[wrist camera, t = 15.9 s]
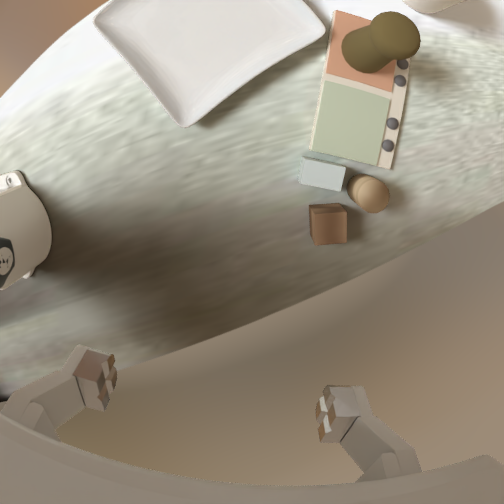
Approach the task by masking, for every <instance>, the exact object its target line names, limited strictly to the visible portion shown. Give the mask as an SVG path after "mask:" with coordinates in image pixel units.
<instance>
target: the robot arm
mask: <svg viewBox="0 0 504 504" xmlns="http://www.w3.org/2000/svg"><path fill="white" fill-rule="evenodd" d="M11 179H12V181H11ZM51 239H52V235H51V226H50V222H49V218H48V215H47V213H46V210H45V208H44V206H43V204H42V203H41V201H40V200H39V198H38V197H37V196H36V195H35V194H34V193H33V192H32V191H31V190H30V189H29V187H28V186H27V184H26V182H25V180H24V178H23V176H22V174H21V173H20V172H19V171H12V172H8V173H4V174H1V175H0V289H1V290H4V289H6V288H7V287H9V286H10V285H11V284H13V283H14V282H16V281H17V280H18V279H20V278H21V277H23V278H28V277H30V276H31V275H32V273H33V271H34V269H35V267H36V266H37V265H38V264H40V263H41V262H43V261H44V260H45V258H46V257H47V255H48V253H49V251H50V247H51ZM114 362H115V358H114V355H113V354H110V353H106V352H103V351H100V350H96V349H93V348H89V347H86V346H82V345H77V346H76V347H75V349H74V350H73V352H72V353H71V355H70V356H69V358H68V360H67V361H66V363H65V364H64V366H63V368H62V369H61V371H55V372H53V373H51V374H49V375H47V376H45V377H43V378H41V379H39V380H37V381H35V382H32V383H30V384H28V385H26V386H24V387H22V388H20V389H18V390H16V391H14V392H13V393H12V395H11V396H10V398H9V399H8V401H7V403H6V404H5V406H4V407H3V409H2V411H1V412H0V504H504V465H503V464H502V463H500V462H499V461H497V460H496V459H495V458H493V457H491V456H489V455H482V456H478V457H475V458H472V459H469V460H465V461H462V462H459V463H455V464H452V465H448V466H444V467H441V468H437V469H433V470H428V471H424V472H422V470H421V467H420V464H419V461H418V458H417V455H416V452H415V449H414V448H413V447H412V446H410V445H409V444H408V443H407V442H406V441H405V440H404V439H402V438H401V437H400V436H399V435H398V434H397V433H395V432H394V431H393V430H392V429H391V428H390V427H388V426H387V425H386V424H385V423H384V422H383V421H382V420H380V419H379V418H378V417H377V416H373V413H372V410H371V407H370V404H369V401H368V398H367V395H366V392H365V389H364V387H363V386H340V385H338V386H336V385H327V386H326V387H325V388H324V390H323V395H324V396H322V397H321V398H319V401H318V403H317V406H316V420H317V421H318V422H319V423H320V424H321V425H320V426H319V428H318V432H319V439H320V442H329V443H333V442H336V443H340V444H341V446H342V447H343V448H344V449H345V450H346V452H347V453H348V454H349V455H350V456H351V458H352V459H353V460H354V461H355V463H356V464H357V465H358V466H359V467H360V469H361V470H362V471H363V472H364V474H363V475H362V476H361V477H360V478H359V479H358V480H357V481H356V482H355V483H346V484H333V485H316V486H315V485H314V486H271V485H269V486H268V485H251V484H237V483H228V482H218V481H210V480H203V479H196V478H189V477H184V476H178V475H173V474H168V473H163V472H158V471H153V470H149V469H145V468H141V467H137V466H133V465H129V464H125V463H122V462H118V461H115V460H111V459H108V458H104V457H102V456H98V455H95V454H93V453H89V452H87V451H84V450H80V449H78V448H75V447H73V446H70V445H67V444H65V443H62V442H61V440H60V438H59V436H58V434H57V433H56V431H55V429H57V428H58V427H59V426H61V425H62V424H63V423H65V422H66V421H68V420H69V419H70V418H72V417H73V416H75V415H76V414H77V413H79V412H80V411H81V410H83V409H84V408H85V407H89V408H92V409H96V410H100V411H103V412H105V410H106V407H107V405H108V403H109V400H110V399H109V393H111V392H113V391H114V388H115V386H116V381H117V370H116V368H115V367H114V366H113V364H114Z"/></svg>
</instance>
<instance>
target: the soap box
mask: <svg viewBox="0 0 504 504" xmlns="http://www.w3.org/2000/svg"><path fill="white" fill-rule="evenodd" d="M345 170H346V168H345V167H344V166H342V165H340V164H337V163H333V162H328V161H323V160H319V159H314V158H309V157H304V156H302V158H301V163H300V169H299V174H298V181H299V182H300V184H304V185H309V186H315V187H320V188H325V189H330V190H335V191H340V192H341V187H342V183H343V179H344V174H345Z"/></svg>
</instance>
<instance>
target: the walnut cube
mask: <svg viewBox="0 0 504 504" xmlns="http://www.w3.org/2000/svg"><path fill="white" fill-rule="evenodd" d="M309 216H310V235H311V237H312V239H313V241H314V244H315V245H326V244H337V243H347V212H346V210H345V209H344V208H343V207H342V206H341V205H340V204H339V203H331V204H317V205H309Z"/></svg>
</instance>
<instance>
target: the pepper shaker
mask: <svg viewBox="0 0 504 504" xmlns="http://www.w3.org/2000/svg"><path fill="white" fill-rule="evenodd" d="M420 42H421V40H420V34H419V31H418V29H417V27H416V25H415V24H414V23H413V22H412V21H411V20H410V19H409V18H408V17H406V16H405V15H402V14H400V13H398V12H392V11H390V12H383V13H381V14H379V15H377V16H376V17H374V19H373V20H372V22H371V23H370V25H368V26H365V27H362V28H359V29H356V30H353V31H351V32H349V33H348V34H346V36H345V37H344V39H343V40H342V45H341V49H342V54H343V57H344V59H345V61H346V62H347V63H348V64H349V65H350V66H351V67H352V68H354V69H355V70H356V71H359V72H362V73H370V74H371V73H375V72H378V71H379V70H380V69H382V68H383V67H384V66H386V65H387V64H388V63H390V62H391V61H392V60H404V59H408V58H410V57H412V56H413V55H415V54H416V52H417V51H418V49H419V47H420Z"/></svg>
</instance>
